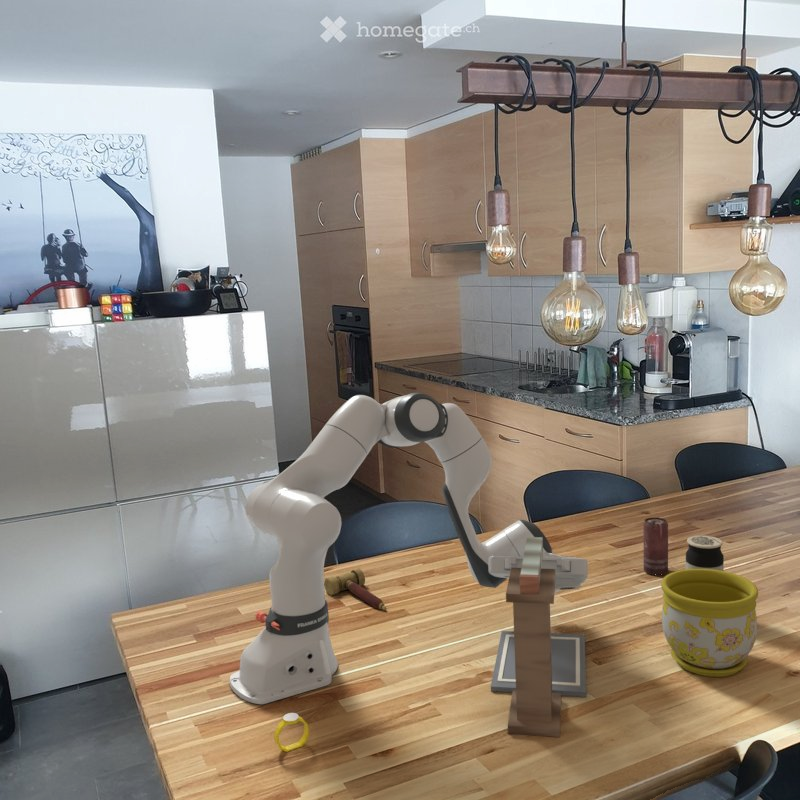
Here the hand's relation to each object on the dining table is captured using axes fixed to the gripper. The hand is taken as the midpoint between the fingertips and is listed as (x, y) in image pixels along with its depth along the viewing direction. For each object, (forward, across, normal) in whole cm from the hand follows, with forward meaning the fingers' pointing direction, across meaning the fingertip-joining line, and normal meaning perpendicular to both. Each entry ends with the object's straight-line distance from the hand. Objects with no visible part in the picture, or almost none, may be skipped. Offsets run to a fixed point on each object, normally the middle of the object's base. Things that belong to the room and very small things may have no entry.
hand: (536, 561), depth 159 cm
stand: (+4, 0, +29) cm, 29 cm away
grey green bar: (+13, 0, +4) cm, 14 cm away
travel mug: (-36, +36, +6) cm, 51 cm away
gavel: (-39, -46, +5) cm, 60 cm away
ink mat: (-13, 0, +19) cm, 23 cm away
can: (-58, +28, -8) cm, 65 cm away
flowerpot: (-17, +34, +16) cm, 41 cm away
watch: (+16, -41, +37) cm, 57 cm away
